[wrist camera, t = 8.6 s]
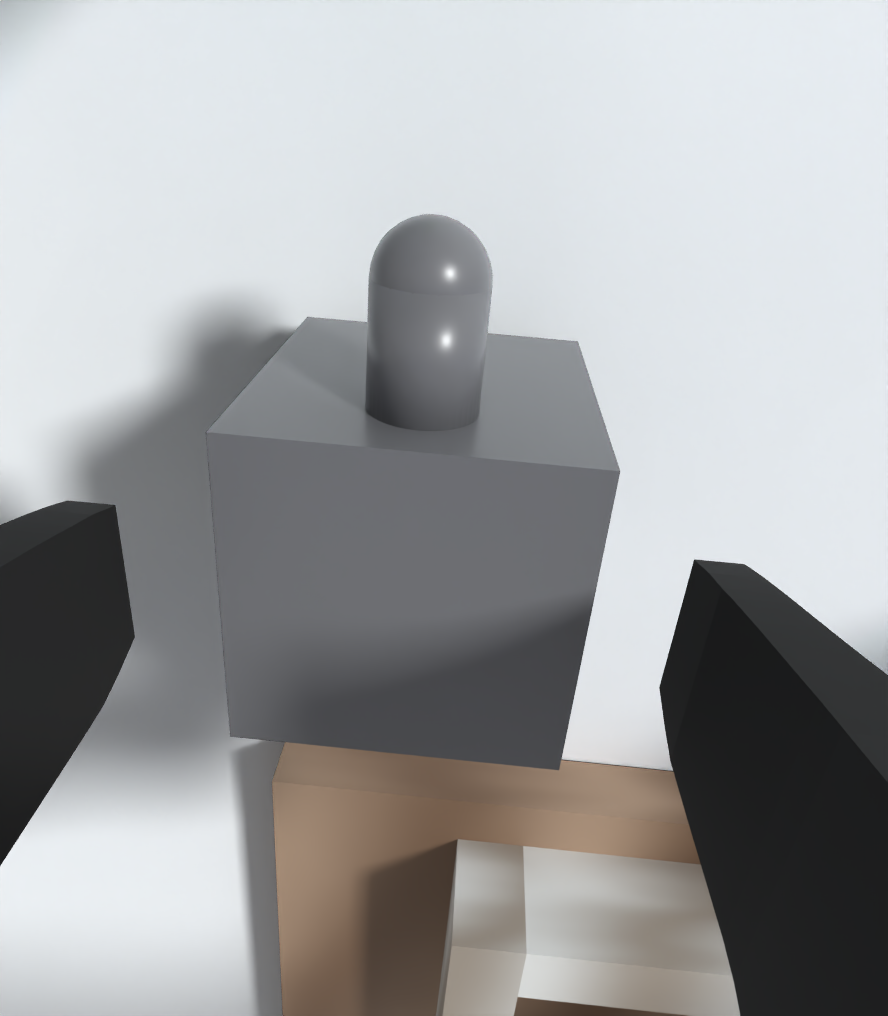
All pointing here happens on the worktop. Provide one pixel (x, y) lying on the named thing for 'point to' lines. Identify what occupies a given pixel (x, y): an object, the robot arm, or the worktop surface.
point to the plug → (412, 521)
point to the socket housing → (489, 890)
